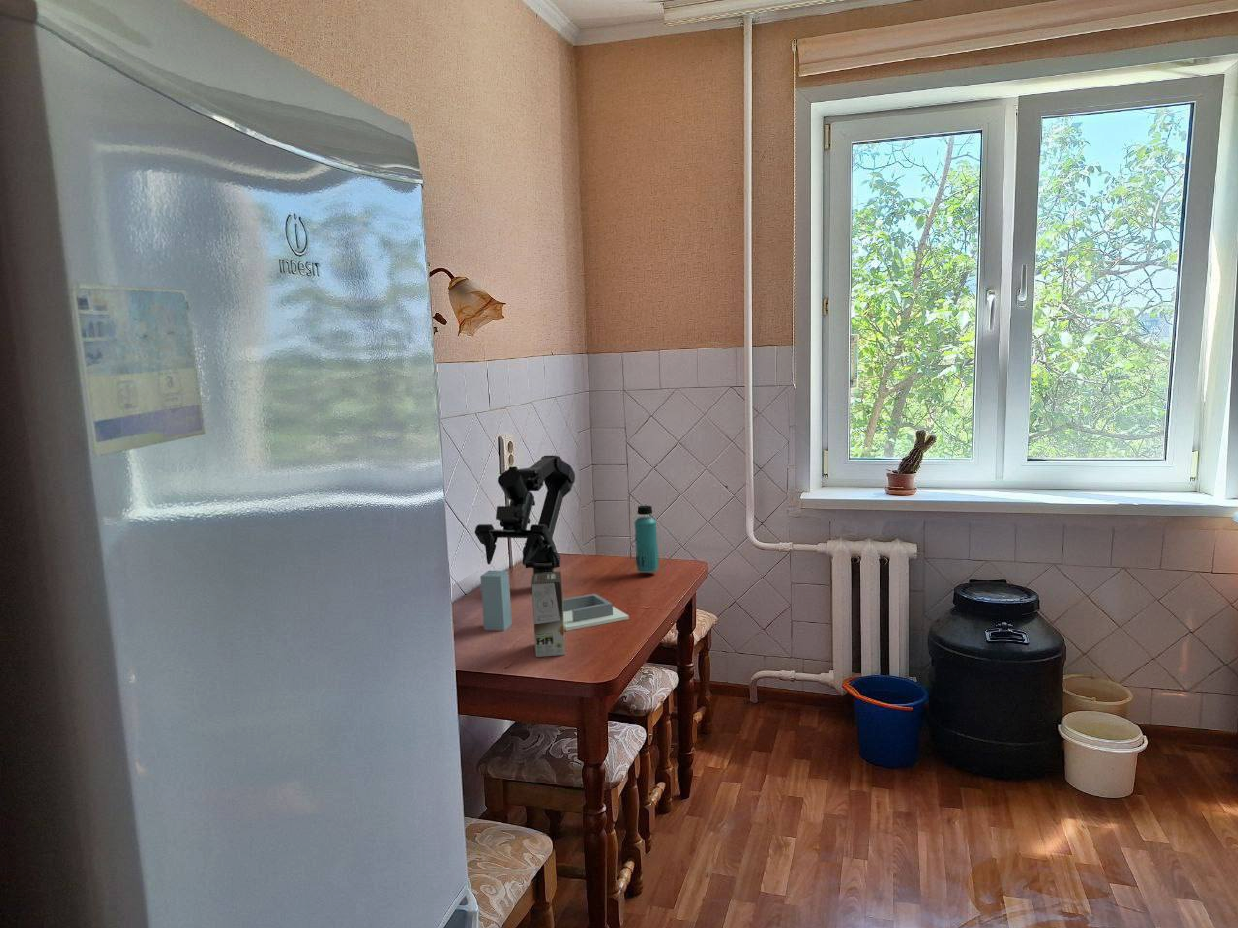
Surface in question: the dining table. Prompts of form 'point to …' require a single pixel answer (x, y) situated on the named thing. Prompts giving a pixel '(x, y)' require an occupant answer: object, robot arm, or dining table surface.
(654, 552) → the beverage bottle
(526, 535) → the robot arm
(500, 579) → the blue-grey tall block
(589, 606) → the plate
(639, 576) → the dining table surface
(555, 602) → the coffee box
